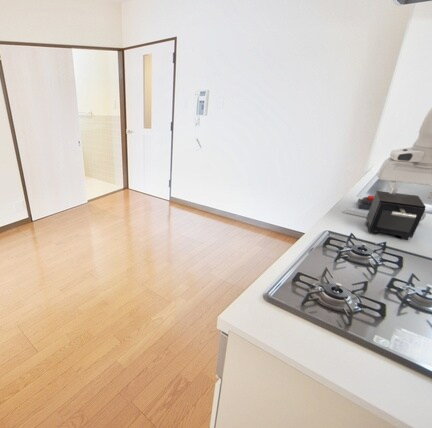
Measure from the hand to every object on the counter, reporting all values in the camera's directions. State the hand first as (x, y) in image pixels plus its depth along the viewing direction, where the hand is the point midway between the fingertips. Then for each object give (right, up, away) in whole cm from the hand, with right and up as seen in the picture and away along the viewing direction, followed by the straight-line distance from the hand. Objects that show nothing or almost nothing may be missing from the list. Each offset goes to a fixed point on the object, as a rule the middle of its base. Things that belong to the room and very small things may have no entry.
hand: (411, 195), depth 94 cm
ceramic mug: (+21, -9, +23) cm, 32 cm away
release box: (+19, -3, +37) cm, 42 cm away
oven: (+8, -13, +17) cm, 23 cm away
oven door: (+2, -15, +9) cm, 17 cm away
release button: (+19, 0, +35) cm, 40 cm away
